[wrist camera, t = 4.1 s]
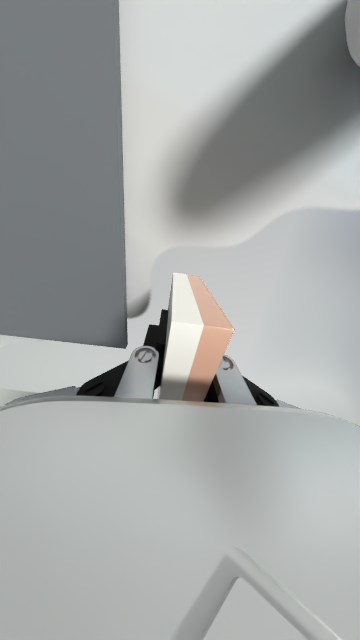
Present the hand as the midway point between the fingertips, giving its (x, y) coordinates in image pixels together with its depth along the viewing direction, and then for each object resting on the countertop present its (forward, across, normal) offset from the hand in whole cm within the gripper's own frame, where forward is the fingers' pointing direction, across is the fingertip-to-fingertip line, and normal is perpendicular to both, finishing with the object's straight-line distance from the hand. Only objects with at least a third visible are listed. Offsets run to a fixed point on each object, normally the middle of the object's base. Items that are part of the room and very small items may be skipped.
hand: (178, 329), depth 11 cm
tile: (+1, 0, 0) cm, 1 cm away
